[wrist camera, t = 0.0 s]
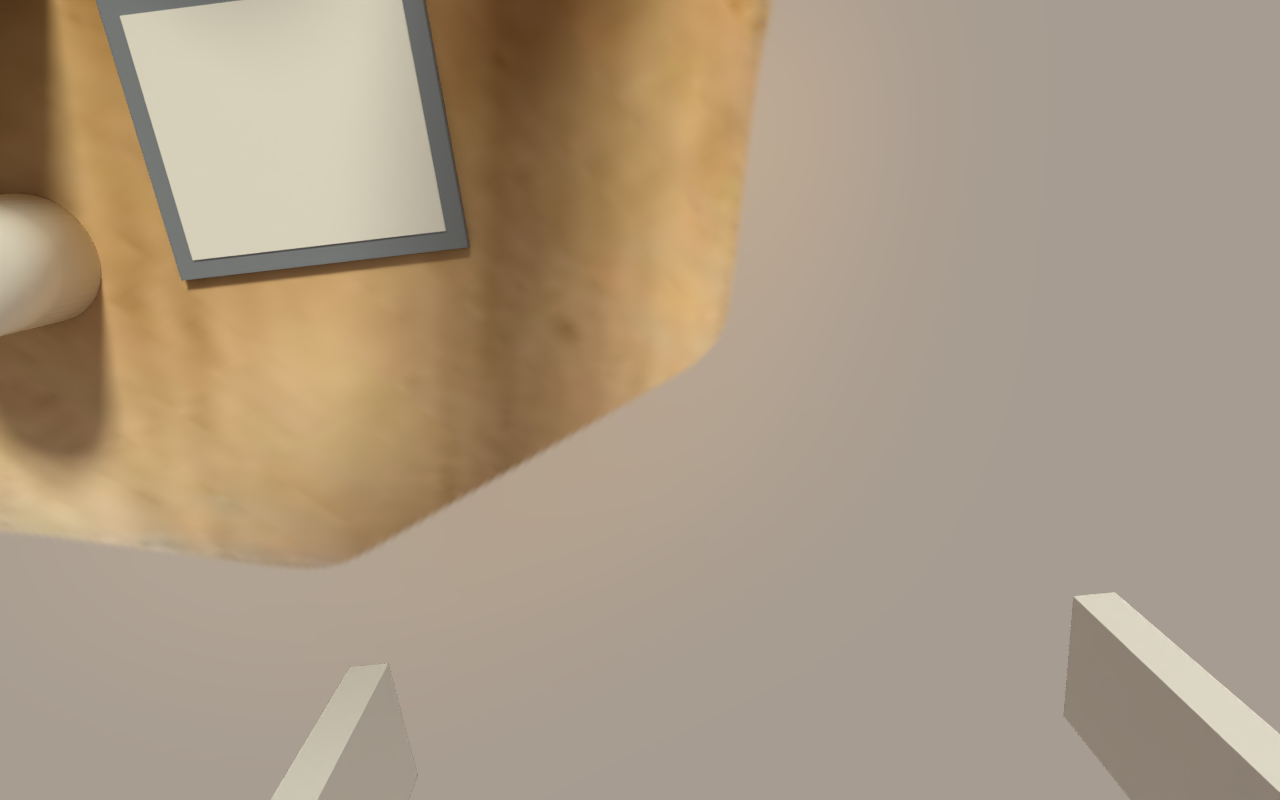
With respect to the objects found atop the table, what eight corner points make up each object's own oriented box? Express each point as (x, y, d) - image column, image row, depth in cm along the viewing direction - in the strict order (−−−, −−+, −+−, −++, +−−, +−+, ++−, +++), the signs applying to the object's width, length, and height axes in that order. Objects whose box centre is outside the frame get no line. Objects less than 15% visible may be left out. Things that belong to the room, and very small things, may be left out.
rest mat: (101, -2, 35) (92, -5, 34) (417, -43, 34) (413, -46, 34) (187, 279, 39) (180, 280, 38) (470, 246, 38) (467, 247, 38)
